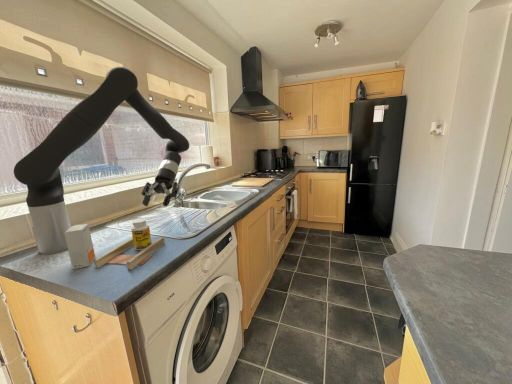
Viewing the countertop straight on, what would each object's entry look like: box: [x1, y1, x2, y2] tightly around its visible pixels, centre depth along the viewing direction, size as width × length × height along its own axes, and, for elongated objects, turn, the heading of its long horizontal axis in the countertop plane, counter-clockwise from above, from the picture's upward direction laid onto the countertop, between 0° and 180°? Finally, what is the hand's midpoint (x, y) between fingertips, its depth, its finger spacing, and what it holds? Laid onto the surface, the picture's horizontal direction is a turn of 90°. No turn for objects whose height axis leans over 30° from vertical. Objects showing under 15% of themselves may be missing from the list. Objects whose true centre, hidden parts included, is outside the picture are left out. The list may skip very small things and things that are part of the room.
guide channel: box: [93, 236, 165, 271], centre depth 70 cm, size 15×17×2 cm
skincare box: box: [64, 223, 96, 270], centre depth 64 cm, size 6×4×12 cm
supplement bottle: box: [131, 218, 153, 251], centre depth 74 cm, size 6×6×10 cm
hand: (154, 205), depth 81 cm, fingers open, 8 cm apart
